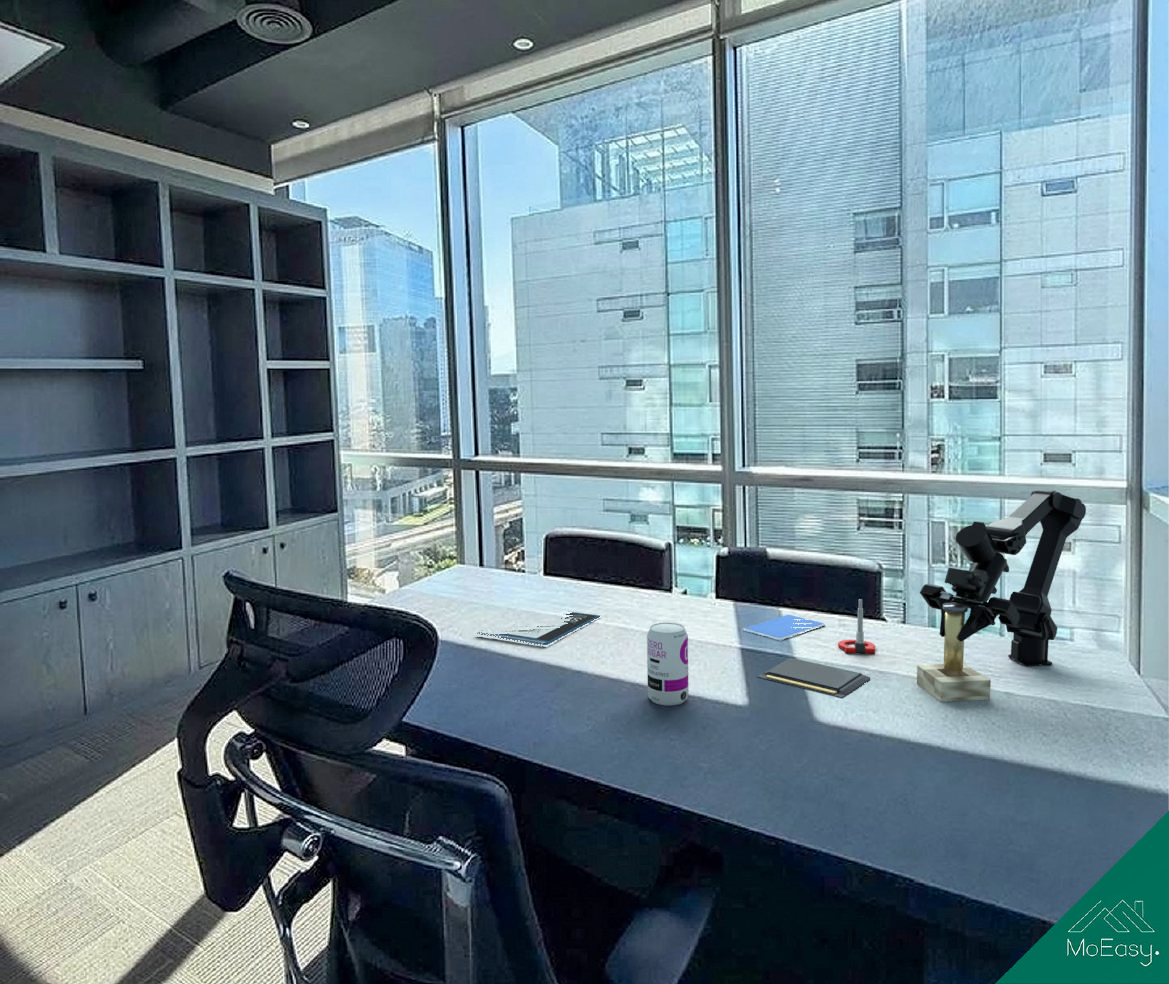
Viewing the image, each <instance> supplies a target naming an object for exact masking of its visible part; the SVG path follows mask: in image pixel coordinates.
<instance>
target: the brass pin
mask: <svg viewBox="0 0 1169 984" xmlns="http://www.w3.org/2000/svg"><path fill="white" fill-rule="evenodd" d="M968 609H969V608H968V606H967V605H965V604H962V603H955V602H948V603H943V610H945V636H944V637H943V638H944V640H943V641H944V642H943V643H944V644H943V646H944V647H943V664H944V668H945V669H947V670H950V671H962V670H963V663H964V654H965V652H964V651H965V640H964V641H962V642H960V641H959V640H958V637H959V635H960V632H961V630H962V628H963V626H964V625H965V623H966V621H965V619H966V613H967V612H968V611H969V610H968Z"/></svg>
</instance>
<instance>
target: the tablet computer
mask: <svg viewBox="0 0 1169 984" xmlns="http://www.w3.org/2000/svg"><path fill="white" fill-rule="evenodd" d="M794 619H801V620H800V621H799V620H798V621H797V620H794ZM802 619H803V620H802ZM805 619H806V618H804V617H801V616H796V615H792V614H784V615H782V616H780V617H779V616H778V617H776V618H773V619H770V620H767V621H763V622H760V623H757V624H754V625H750V626H747V627H744V628H742V631H743V630H744V631H743V632H745V631H746V632H745V633H749V632H753V633H756V634H758V635H757V636H759V635H761V636H760V637H762V636H769V637H771V638H774V639H777V640H783V641H785V640H784V639H786V638H788V637H790V636H794V635H796V634H798V633H800V632H805V631H806V630H808V629H809V630H810V629H811V628H803V629H802V628H796V629H795V628H793V627H812V628H815V627H821V626H825V627H826V624H825V623H824V622H822V621H821V622H820V621H818V620H817V621H816V620H812V619H809V620H805ZM793 623H794V624H793ZM795 623H812V624H806V625H804V624H799V625H798V624H795ZM791 627H792V628H791ZM821 628H822V627H821ZM786 640H787V639H786Z"/></svg>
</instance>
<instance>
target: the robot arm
mask: <svg viewBox="0 0 1169 984" xmlns="http://www.w3.org/2000/svg"><path fill="white" fill-rule="evenodd" d="M1086 514H1087V507H1086V504H1085V503H1083V502H1082V500H1081V499H1080V498H1074V497H1070V496H1068V495H1065V494H1062V493H1060V491H1059V492H1058V491H1057V490H1054V489H1053V490H1052V489H1051V490H1050V489H1034V490H1033V491H1031V494H1030V497H1028V498H1027V499H1026V500H1025V501H1024V502H1023V503H1022V504H1021V505H1019V506H1018V507H1017V508H1016V509H1015V510H1014V511H1013V512H1012V513H1011V514H1010V515H1009V516H1007V517H1006V518H1003V519H998V520H994V521H992V522H991V523H990V524H989V523H988V524H987V525H985V523H984V521H977V520H975V521H973V522H972V524H970V525H967V526H965V527H963V528H961V529H960V530H959V531H958V532H957V533H956V534H955V540H956V543H957V544H958V546H959V548H960V550H961V551H962V552H963V554H964V555H965V557H966V559H967V560H968V561H969V562H971V566H970V567H969V569H968V570H967V569H961V568H954V567H947V572H946V575H945V579H944V583H945V584H949V585H950V586H951V590H952V592H953V593H955V595H953V593H952V592H951V593H950V592H947V591H946V589H945V587H944V586H942V585H936V584H931V583H926V584H924V585H923V586H922V587H921V589H920V591H919V594H920V595H921V597H922V598H923V600H924V601H925V602H926V604H927V605H928V606H929V607H930V608H932V609H936V610H940V613H941V614H940V623H939V624H940V626H939V627H940V628H939V635H940V636H941V637H942V638H944V636H945V610H943V603H948V602H955V603H962V604H965V605H967V606H968V609H970V612H969V616H968V617H967V619H966V621H965V625H964V626H963V628H962V630H961V632H960V635H959V637H958V640H959V641H960V642H962V641H964V642H965V640H967V639H968V638H970V637H971V636H973V635H974V634H976V633H978V632H980V631H981V630H984V629H985V628H987V627H989V626H995V625H996V621H995V620H996V618H998V620H999V623H1001V625H1005V627H1006V632H1007V633H1012V634H1013V636H1012V637H1013V639H1011V640H1010V641H1011V642H1010V643H1011V644H1010V648H1011V649H1010V654H1008V655H1007V656H1008V658H1010V659H1012V660H1013V661H1016V662H1017V663H1018V664H1020V665H1022V666H1025V667H1030V666H1031V667H1032V666H1033V667H1035V666H1052V665H1053V661H1050V660H1049V659H1048V658H1049V641H1054V640H1055V638H1056V637H1057V632H1058V626H1057V625H1056V623H1055V621H1054V620H1053V617H1052V616H1051V615H1052V606H1051V603H1050V601H1049V597H1048V596H1049V592H1050V589H1051V586H1052V583H1053V580H1054V576H1055V575H1056V571H1057V568H1058V565H1059V561H1060V559H1061V555H1062V553H1063V549H1064V546H1065V544H1066V541H1067V538H1068V537H1069V536H1071V535H1072V534H1074V532H1077V530H1079V527H1080V525H1081V523H1082V521H1083V519H1084V518H1085V516H1086ZM1039 522H1040V525H1041V528H1042V532H1041V534H1040V538H1039V541H1038V544H1037V547H1036V550H1035V553H1034V556H1033V558H1032V562H1031V565H1030V566H1029V567H1030V568H1029V571H1028V574H1027V577H1026V580H1025V581H1024V586H1023V588H1022V589H1020V590H1019V591H1012V593H1010V597H1009V599H1006V598H1001V597H995V596H992V597H991V595H992V594H993V595H996V594H997V592H998V589H997V588H996V585H997V583H998V581H999V579H1000V578H1001V575H1002V574H1003V572H1005V573H1009V572H1010V567H1009V564H1008V560H1007V559H1006V558H1005V557H1004V555H1005V554H1006V555H1010V556H1016V555H1018V554H1020V552H1021V550H1023V548H1024V547H1025V546H1026V544H1027V537H1026V536H1027V535H1028V533H1029V532H1030V531H1031V530H1032V529H1034V527H1035V526H1036V525H1037V524H1038V523H1039Z"/></svg>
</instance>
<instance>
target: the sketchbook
mask: <svg viewBox="0 0 1169 984" xmlns="http://www.w3.org/2000/svg"><path fill="white" fill-rule="evenodd" d="M571 612H572V613H570V614H566V615H573V616H569V617H565V619H570V621H564V622H558V623H568V624H558V625H551V626H540V627H560V628H552V629H545V630H543V629H542V630H541V629H533V630H531V629H530V630H517V631H516V630H514V631H513V630H512V631H505V632H528V633H513V634H512V633H511V634H509V633H507V634H499V635H498V634H495V635H496V636H498V638H499V636H501V638H503V639H504V638H506V640H507V639H509V640H510V639H512V640H514V641H515V640H517V642H518V640H520V642H521V641H523V643H524V641H525V642H526V643H527V642H529V643H531V644H532V643H534V645H535V644H537V645H538V644H540V646H541V644H542V645H548V644H550V643H552V642H554V641H555V640H558V639H559V638H561V637H562V636H565V635H567V634H568V633H570V632H573V631H574V630H576V629H577V628H579V627H582V626H583V625H585V624H587V623H590V622H591V621H593V620H594V619H597V618H599V617H600V616H601V615H598V614H590V613H585V612H574V611H571ZM561 619H562V618H561ZM599 619H600V618H599ZM590 624H591V623H590ZM526 627H527V626H526ZM537 627H539V626H537ZM502 632H503V631H502ZM529 632H531V633H529ZM476 633H477V634H478V633H479V634H480V631H478V632H476ZM481 633H482V632H481ZM483 634H484V635H486V634H488V633H486V634H485V633H482V634H481V635H483ZM488 635H489V634H488ZM488 635H487V636H488ZM492 635H493V636H495V635H494V634H490V636H492ZM496 636H495V637H496ZM507 636H508V637H507ZM501 638H500V639H501ZM529 643H528V644H529Z"/></svg>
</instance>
